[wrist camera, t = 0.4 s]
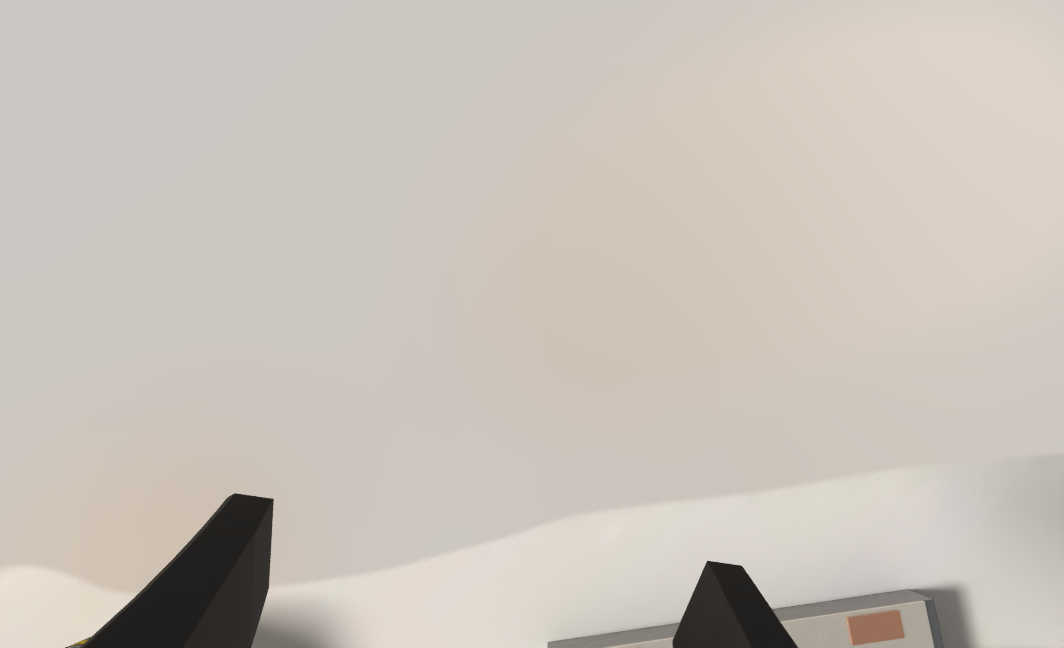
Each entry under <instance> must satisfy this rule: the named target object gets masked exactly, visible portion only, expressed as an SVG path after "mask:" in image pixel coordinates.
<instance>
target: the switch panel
mask: <svg viewBox="0 0 1064 648" xmlns="http://www.w3.org/2000/svg"><path fill="white" fill-rule="evenodd" d="M772 610H773V612H774V613H775V615H776V616H777V618H778V619H779V621H780V622H781V623H782V625H783V626H784V628H785V629H786V631H787V632H788V634H789V635H790V636H791V638H792V639H793V641H794V642H795V643H796V645H797V646H798V648H943V644H942V639H941V634H940V630H939V625H938V620H937V615H936V611H935V606H934V601H933V599H932V598H929V597H926V596H923V595H921V594H918V593H915V592H913V591H910V590H901V591H895V592H888V593H881V594H874V595H867V596H861V597H854V598H847V599H840V600H833V601H827V602H820V603H813V604H806V605H799V606H793V607H786V608H779V609H772ZM679 625H680V623H677V624H670V625H664V626H657V627H650V628H643V629H636V630H630V631H623V632H616V633H609V634H602V635H596V636H589V637H582V638H575V639H569V640H562V641H555V642H548V648H673V643H672V641H673V638H674V636H675V634H676V631H677V629H678V627H679Z"/></svg>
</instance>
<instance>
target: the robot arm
mask: <svg viewBox="0 0 1064 648" xmlns="http://www.w3.org/2000/svg"><path fill="white" fill-rule="evenodd" d="M273 501H274V500H273V499H270V498H262V497H256V496H249V495H242V494H233V495H231V496H229V497H228V498H227V499H226V500H225V501H224V502H223V504H222V505H221V506H220V508H218V510H217V511H216V512H215V513H214V514H213V516H212V517H211V518H210V519H209V520H208V521H207V523H206V524H205V525H204V526H203V527H202V528H201V529H200V530H199V532H198V533H197V534H196V535H195V536H194V537H193V538H192V539H191V540H190V542H189V543H188V544H187V545H186V546H185V547H184V548H183V549H182V550H181V551H180V552H179V553H178V554H177V555H176V557H175V558H174V559H173V560H172V561H171V562H170V563H169V564H168V565H167V566H166V567H165V568H164V569H163V570H162V571H161V572H160V573H159V574H158V575H157V576H156V577H155V578H154V579H153V580H152V581H151V582H150V583H149V584H148V585H147V586H146V587H145V588H144V589H143V590H142V591H141V592H140V593H139V594H138V595H137V596H136V597H135V598H134V599H132V600H131V601H130V602H129V603H128V604H127V605H126V606H125V607H124V608H123V609H122V610H121V611H119V612H118V613H117V614H116V615H115V616H114V617H113V618H112V619H111V620H110V621H108V622H107V623H106V624H105V625H104V626H103V627H102V628H101V629H100V630H99V631H97V632H96V633H95V634H94V635H93V636H92V637H91V638H90V639H89V640H87V641H86V642H85V643H84V644H83V645H82V646H80V647H79V648H251V646H252V643H253V639H254V636H255V633H256V630H257V626H258V623H259V620H260V616H261V613H262V610H263V606H264V603H265V599H266V596H267V592H268V589H269V574H270V556H271V537H272V518H273ZM672 643H673V648H798V646H797V645H796V643H795V642H794V641H793V639H792V638H791V636H790V635H789V634H788V632H787V631H786V629H785V628H784V626H783V625H782V623H781V622H780V621H779V619H778V618H777V616H776V615H775V613H774V612H773V610H772V609H771V607H770V606H769V605H768V603H767V602H766V600H765V599H764V597H763V596H762V594H761V593H760V591H759V590H758V588H757V587H756V585H755V584H754V583H753V581H752V580H751V578H750V577H749V575H748V574H747V573H746V571H745V570H744V568H743V567H742V566H740V565H733V564H726V563H719V562H712V561H707V563H706V565H705V567H704V569H703V572H702V574H701V576H700V579H699V581H698V583H697V586H696V588H695V590H694V592H693V595H692V597H691V599H690V602H689V604H688V606H687V608H686V611H685V613H684V615H683V618H682V620H681V622H680V625H679V627H678V629H677V631H676V634H675V636H674V638H673V641H672Z"/></svg>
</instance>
